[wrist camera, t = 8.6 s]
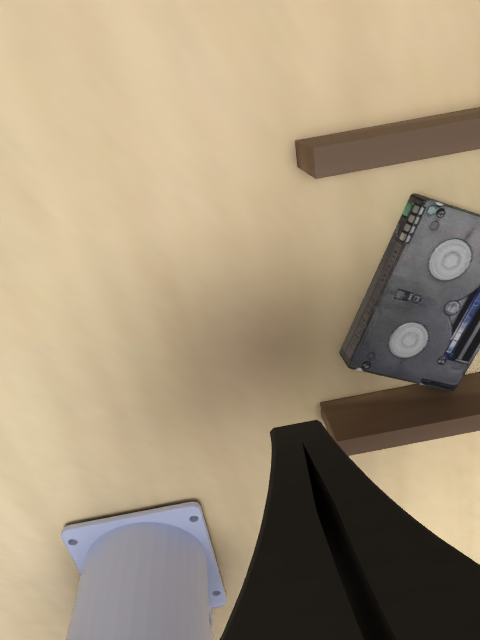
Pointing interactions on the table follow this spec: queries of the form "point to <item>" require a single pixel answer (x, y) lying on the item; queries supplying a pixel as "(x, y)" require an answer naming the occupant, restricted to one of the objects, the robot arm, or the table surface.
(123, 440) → the table surface
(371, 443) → the brown u-shaped frame
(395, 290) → the mini dv tape
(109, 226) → the table surface
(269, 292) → the table surface
